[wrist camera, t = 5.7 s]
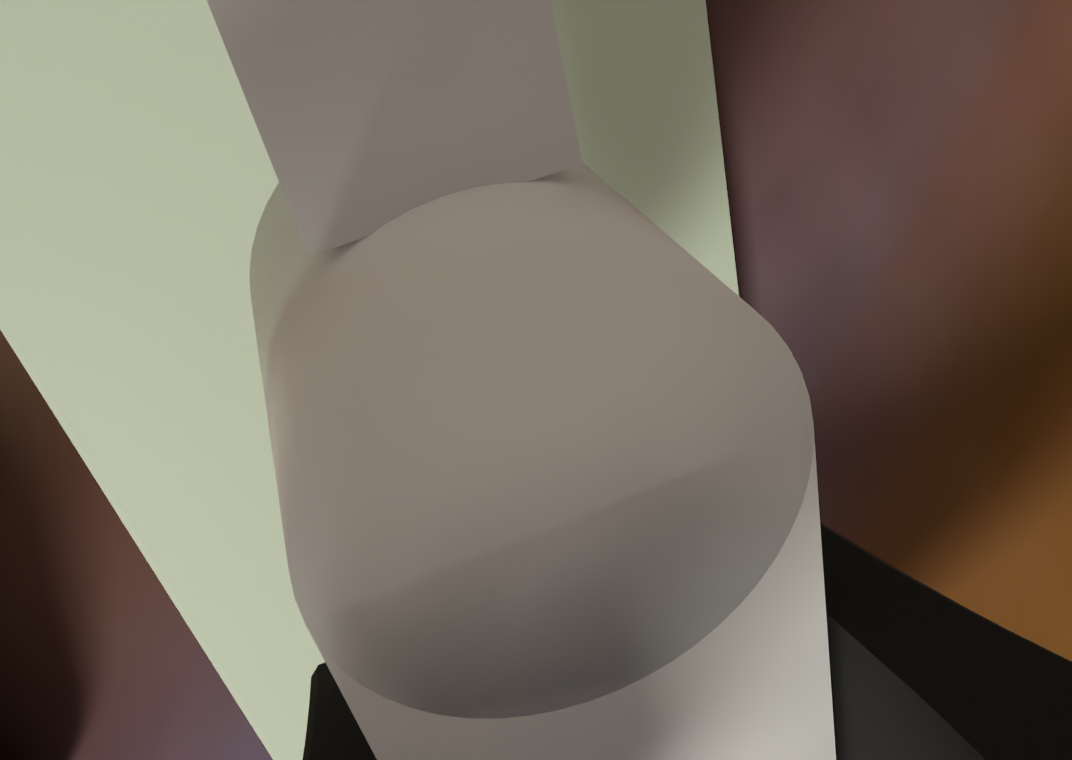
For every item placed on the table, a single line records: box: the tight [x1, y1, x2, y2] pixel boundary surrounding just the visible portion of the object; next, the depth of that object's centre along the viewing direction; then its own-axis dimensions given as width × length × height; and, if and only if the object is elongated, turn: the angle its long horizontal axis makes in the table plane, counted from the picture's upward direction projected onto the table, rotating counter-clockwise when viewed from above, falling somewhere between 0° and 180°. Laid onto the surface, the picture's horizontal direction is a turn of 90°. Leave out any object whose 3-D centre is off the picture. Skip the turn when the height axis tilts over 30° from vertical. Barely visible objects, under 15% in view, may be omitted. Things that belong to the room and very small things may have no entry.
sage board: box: [0, 0, 739, 760], centre depth 17 cm, size 20×12×1 cm, turn 13°
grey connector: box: [207, 0, 836, 760], centre depth 9 cm, size 13×4×4 cm, turn 13°
